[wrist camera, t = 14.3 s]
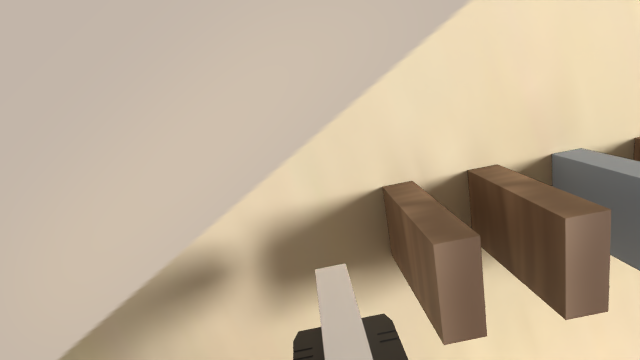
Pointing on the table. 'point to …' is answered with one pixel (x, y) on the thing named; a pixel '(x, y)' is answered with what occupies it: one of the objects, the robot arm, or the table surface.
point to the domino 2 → (544, 238)
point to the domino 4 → (637, 149)
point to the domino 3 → (605, 193)
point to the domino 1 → (437, 261)
